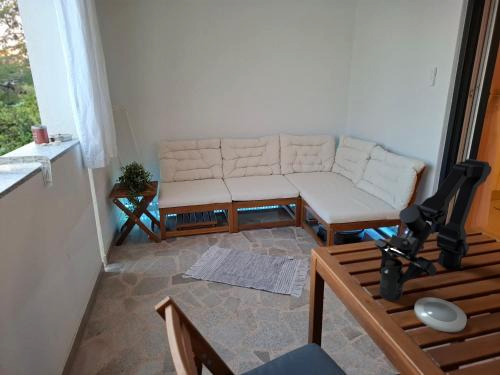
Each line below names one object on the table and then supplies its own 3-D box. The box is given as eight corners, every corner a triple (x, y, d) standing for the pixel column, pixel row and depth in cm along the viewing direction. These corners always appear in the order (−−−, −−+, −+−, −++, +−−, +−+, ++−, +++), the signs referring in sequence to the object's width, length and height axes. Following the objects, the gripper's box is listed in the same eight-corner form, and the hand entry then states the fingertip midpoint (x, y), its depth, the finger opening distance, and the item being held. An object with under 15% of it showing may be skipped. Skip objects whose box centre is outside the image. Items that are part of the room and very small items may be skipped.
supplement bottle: (404, 303, 100) (408, 268, 96) (380, 300, 101) (384, 267, 97) (399, 289, 106) (403, 257, 102) (377, 287, 107) (380, 255, 104)
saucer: (445, 299, 100) (446, 295, 100) (477, 329, 88) (478, 324, 87) (405, 303, 99) (406, 298, 99) (431, 334, 87) (432, 329, 86)
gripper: (380, 215, 106) (354, 255, 104) (436, 236, 90) (407, 283, 89) (393, 231, 112) (369, 269, 110) (448, 254, 97) (421, 298, 95)
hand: (389, 278), depth 101 cm, fingers closed on supplement bottle, 7 cm apart
